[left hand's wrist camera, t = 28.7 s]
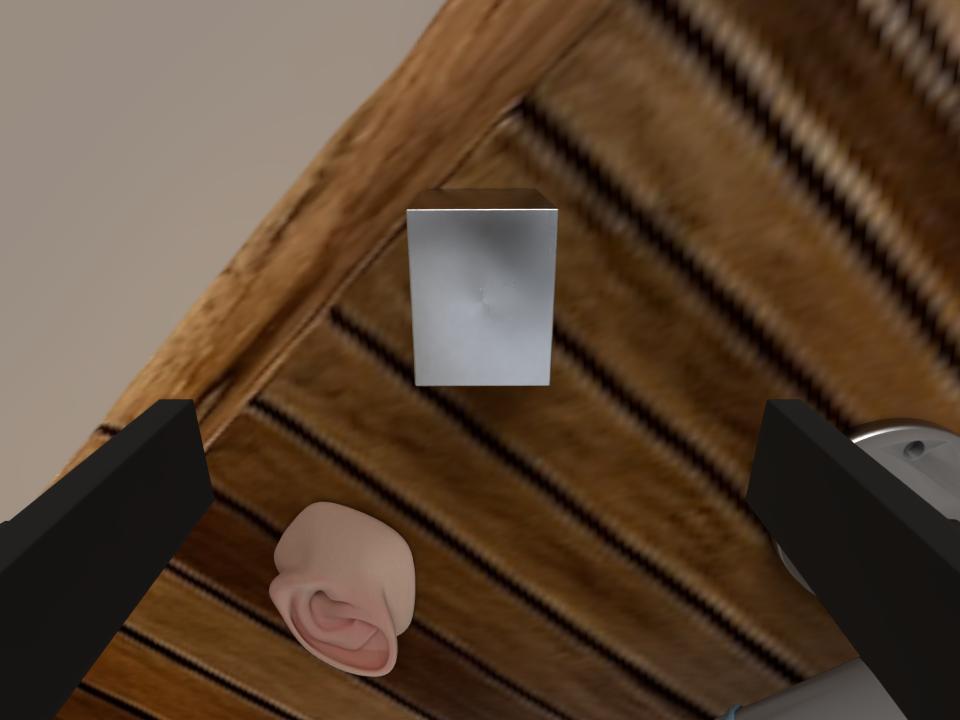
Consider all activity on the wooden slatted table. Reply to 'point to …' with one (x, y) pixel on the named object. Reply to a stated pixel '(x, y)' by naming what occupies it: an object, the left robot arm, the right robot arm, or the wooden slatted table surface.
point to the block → (482, 286)
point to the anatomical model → (345, 587)
